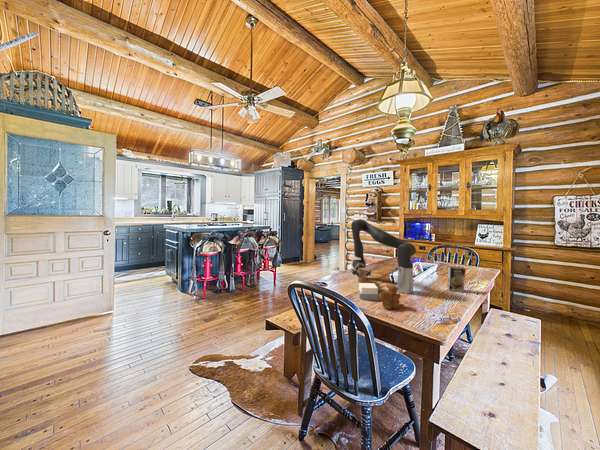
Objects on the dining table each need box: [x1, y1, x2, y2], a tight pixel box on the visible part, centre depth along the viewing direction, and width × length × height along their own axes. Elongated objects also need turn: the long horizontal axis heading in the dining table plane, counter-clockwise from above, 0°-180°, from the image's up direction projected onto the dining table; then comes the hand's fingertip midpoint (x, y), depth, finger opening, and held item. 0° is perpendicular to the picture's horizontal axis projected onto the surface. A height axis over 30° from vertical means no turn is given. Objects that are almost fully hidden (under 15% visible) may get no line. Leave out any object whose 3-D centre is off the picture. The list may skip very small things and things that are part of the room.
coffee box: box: [446, 266, 466, 293], centre depth 179 cm, size 9×6×16 cm
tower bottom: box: [358, 289, 379, 301], centre depth 165 cm, size 11×11×4 cm
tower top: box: [358, 282, 379, 296], centre depth 165 cm, size 10×10×4 cm
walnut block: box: [357, 267, 367, 284], centre depth 176 cm, size 5×5×10 cm
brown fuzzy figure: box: [378, 283, 405, 310], centre depth 149 cm, size 10×14×13 cm
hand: (362, 275), depth 174 cm, fingers closed on walnut block, 5 cm apart
